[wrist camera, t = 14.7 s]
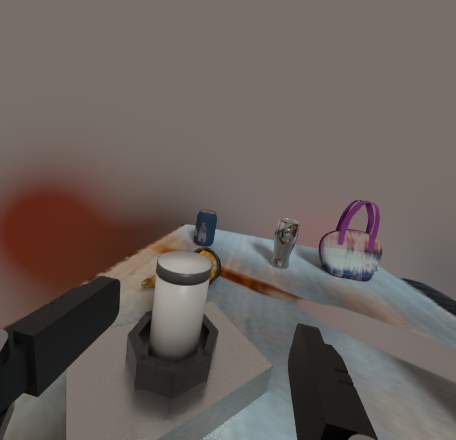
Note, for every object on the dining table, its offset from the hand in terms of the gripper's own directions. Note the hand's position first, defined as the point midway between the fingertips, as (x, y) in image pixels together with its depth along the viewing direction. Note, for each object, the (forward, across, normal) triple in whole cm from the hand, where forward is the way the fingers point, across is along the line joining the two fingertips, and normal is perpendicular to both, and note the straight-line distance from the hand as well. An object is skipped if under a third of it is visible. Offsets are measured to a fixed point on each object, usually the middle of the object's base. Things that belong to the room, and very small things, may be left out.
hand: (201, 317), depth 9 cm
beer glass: (+58, -12, +21) cm, 63 cm away
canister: (+12, +5, +16) cm, 20 cm away
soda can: (+62, +15, +21) cm, 67 cm away
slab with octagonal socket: (+12, +5, +20) cm, 23 cm away
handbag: (+64, -35, +21) cm, 76 cm away
